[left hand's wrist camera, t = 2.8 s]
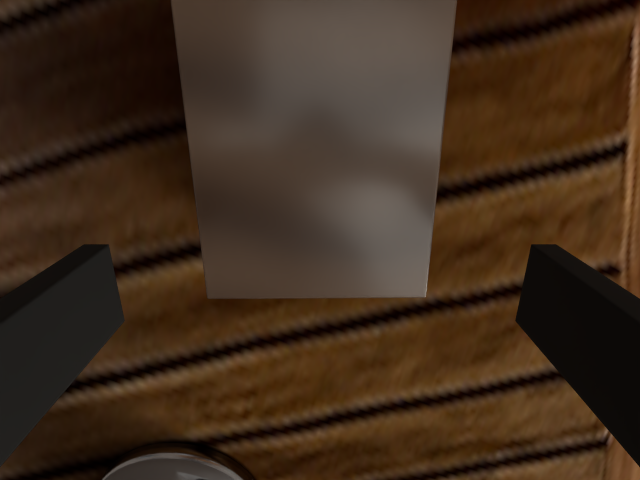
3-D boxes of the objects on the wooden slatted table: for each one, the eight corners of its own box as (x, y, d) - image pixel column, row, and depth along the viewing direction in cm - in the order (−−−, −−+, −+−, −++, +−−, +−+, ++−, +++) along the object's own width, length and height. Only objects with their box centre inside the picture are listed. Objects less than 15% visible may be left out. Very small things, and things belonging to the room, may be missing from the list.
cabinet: (219, -86, 21) (142, -221, 12) (411, -88, 20) (481, -224, 12) (244, 230, 27) (206, 299, 18) (391, 230, 27) (426, 298, 18)
